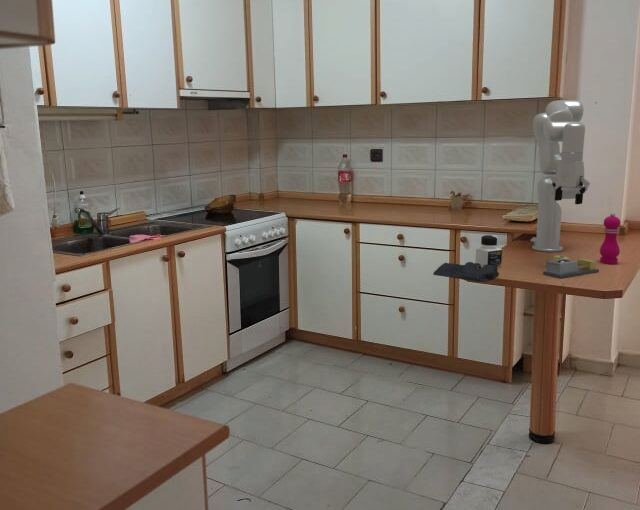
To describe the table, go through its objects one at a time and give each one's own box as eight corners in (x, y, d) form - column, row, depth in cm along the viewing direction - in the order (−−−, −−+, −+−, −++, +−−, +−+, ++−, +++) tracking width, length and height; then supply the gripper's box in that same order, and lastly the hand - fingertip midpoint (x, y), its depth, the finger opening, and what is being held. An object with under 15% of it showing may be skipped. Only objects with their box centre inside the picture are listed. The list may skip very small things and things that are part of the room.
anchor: (552, 261, 256) (553, 254, 256) (558, 260, 258) (558, 253, 257) (564, 263, 251) (565, 257, 251) (570, 263, 253) (570, 256, 252)
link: (546, 271, 234) (546, 261, 233) (563, 269, 238) (564, 258, 237) (559, 275, 229) (560, 264, 228) (576, 272, 233) (577, 261, 232)
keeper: (543, 274, 235) (543, 260, 234) (580, 267, 244) (581, 255, 243) (560, 278, 228) (561, 264, 227) (598, 272, 237) (599, 258, 236)
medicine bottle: (487, 269, 244) (488, 238, 241) (474, 265, 250) (476, 235, 247) (501, 267, 247) (503, 236, 244) (488, 263, 253) (490, 233, 251)
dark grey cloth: (447, 268, 248) (447, 256, 247) (502, 275, 235) (503, 263, 234) (429, 276, 236) (429, 263, 235) (486, 284, 223) (487, 271, 222)
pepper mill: (620, 264, 249) (625, 213, 245) (600, 264, 250) (605, 213, 246) (616, 260, 256) (620, 211, 251) (596, 260, 257) (600, 210, 253)
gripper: (546, 155, 245) (543, 199, 250) (583, 159, 231) (579, 206, 235) (560, 154, 249) (557, 198, 253) (598, 158, 234) (593, 204, 238)
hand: (568, 202), depth 244 cm, fingers open, 9 cm apart
